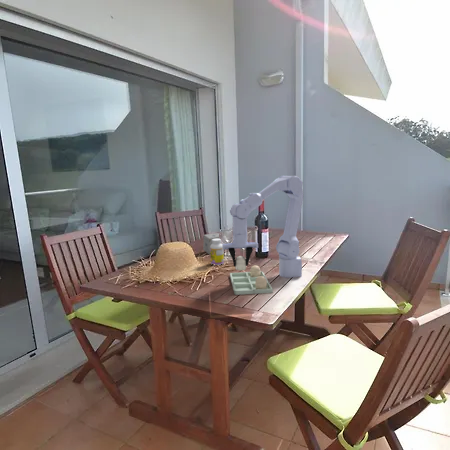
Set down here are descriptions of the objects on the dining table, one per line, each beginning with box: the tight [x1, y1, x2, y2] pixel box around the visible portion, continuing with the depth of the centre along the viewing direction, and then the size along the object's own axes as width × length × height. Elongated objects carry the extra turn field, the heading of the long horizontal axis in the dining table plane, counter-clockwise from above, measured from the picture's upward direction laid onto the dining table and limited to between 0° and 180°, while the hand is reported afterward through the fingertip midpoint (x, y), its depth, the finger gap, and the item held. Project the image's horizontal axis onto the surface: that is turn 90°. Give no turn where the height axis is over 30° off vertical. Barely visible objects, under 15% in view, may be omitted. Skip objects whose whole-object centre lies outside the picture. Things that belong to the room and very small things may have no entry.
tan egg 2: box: [255, 276, 268, 289], centre depth 128 cm, size 4×4×5 cm
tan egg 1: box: [249, 264, 262, 277], centre depth 142 cm, size 4×4×5 cm
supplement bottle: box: [209, 238, 225, 266], centre depth 165 cm, size 7×7×13 cm
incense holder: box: [202, 232, 220, 255], centre depth 189 cm, size 10×8×10 cm
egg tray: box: [229, 270, 274, 296], centre depth 135 cm, size 15×22×2 cm
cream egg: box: [234, 255, 247, 271], centre depth 135 cm, size 4×4×5 cm
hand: (240, 265), depth 135 cm, fingers closed on cream egg, 4 cm apart
